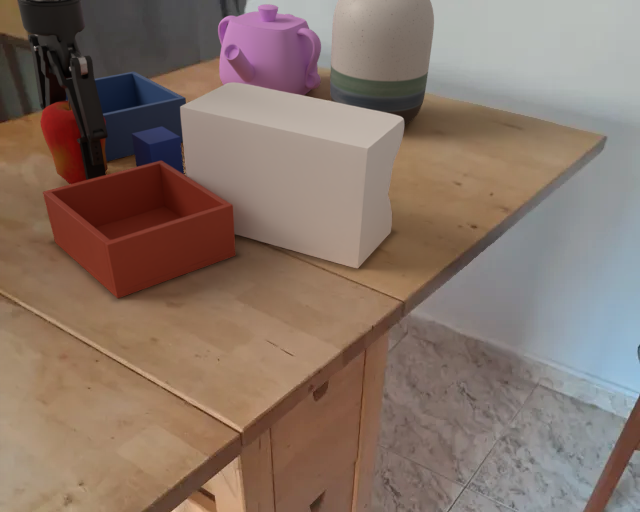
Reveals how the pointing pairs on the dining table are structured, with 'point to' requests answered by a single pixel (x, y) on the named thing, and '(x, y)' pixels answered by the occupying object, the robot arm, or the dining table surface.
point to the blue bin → (135, 110)
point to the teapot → (269, 51)
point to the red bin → (141, 226)
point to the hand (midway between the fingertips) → (83, 174)
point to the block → (158, 148)
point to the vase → (381, 54)
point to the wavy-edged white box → (295, 168)
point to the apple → (65, 141)
